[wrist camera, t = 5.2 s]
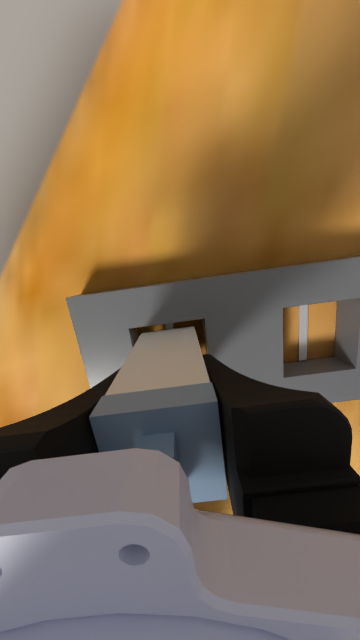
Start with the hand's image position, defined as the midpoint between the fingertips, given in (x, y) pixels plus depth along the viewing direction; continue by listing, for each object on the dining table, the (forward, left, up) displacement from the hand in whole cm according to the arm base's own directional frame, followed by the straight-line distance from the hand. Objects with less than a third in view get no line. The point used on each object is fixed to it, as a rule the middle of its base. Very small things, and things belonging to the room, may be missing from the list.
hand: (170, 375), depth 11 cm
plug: (0, 0, -3) cm, 3 cm away
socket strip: (-5, 0, -4) cm, 7 cm away
